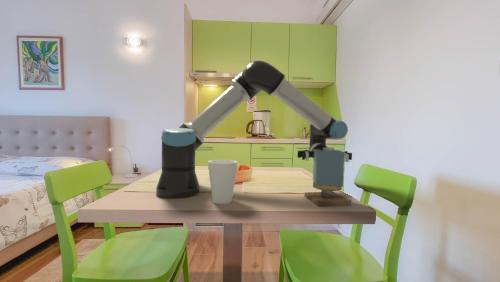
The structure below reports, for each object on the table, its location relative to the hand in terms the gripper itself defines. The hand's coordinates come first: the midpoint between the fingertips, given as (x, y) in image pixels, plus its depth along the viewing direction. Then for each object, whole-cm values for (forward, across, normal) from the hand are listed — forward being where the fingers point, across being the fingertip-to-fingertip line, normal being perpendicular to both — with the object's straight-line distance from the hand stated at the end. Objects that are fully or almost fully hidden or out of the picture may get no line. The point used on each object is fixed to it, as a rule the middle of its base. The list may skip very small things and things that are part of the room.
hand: (327, 157), depth 84 cm
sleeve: (+4, 0, -8) cm, 9 cm away
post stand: (+4, 0, -14) cm, 15 cm away
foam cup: (+13, +35, -14) cm, 40 cm away
